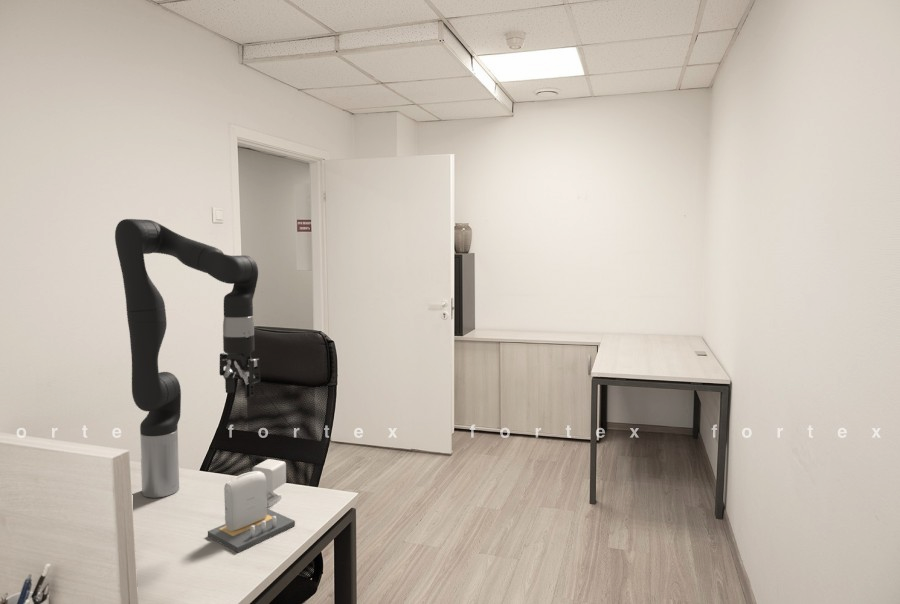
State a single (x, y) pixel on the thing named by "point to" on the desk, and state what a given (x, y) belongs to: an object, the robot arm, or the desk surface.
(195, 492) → the desk surface
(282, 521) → the charging dock
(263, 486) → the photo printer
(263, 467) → the security camera
